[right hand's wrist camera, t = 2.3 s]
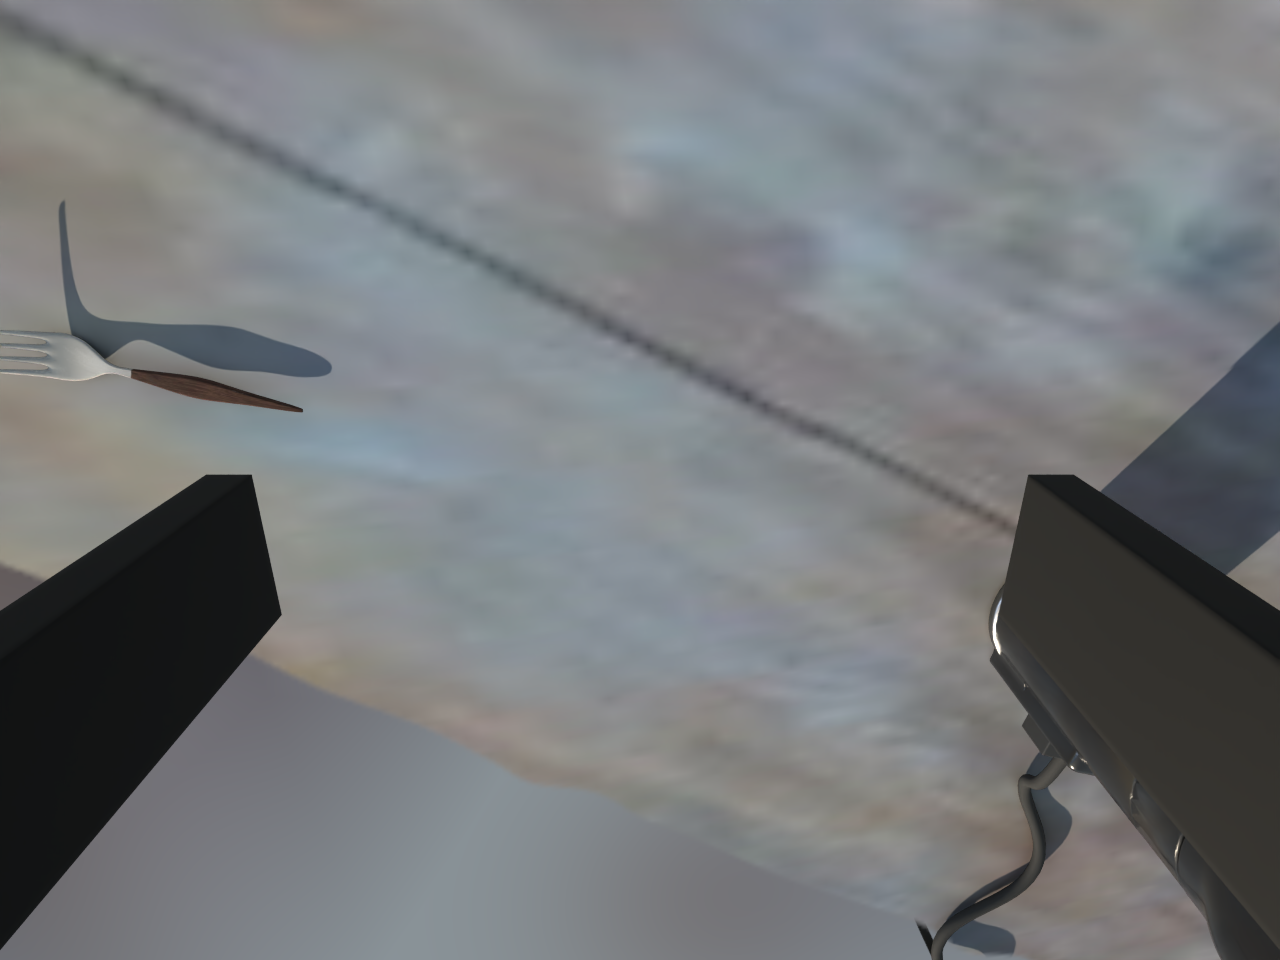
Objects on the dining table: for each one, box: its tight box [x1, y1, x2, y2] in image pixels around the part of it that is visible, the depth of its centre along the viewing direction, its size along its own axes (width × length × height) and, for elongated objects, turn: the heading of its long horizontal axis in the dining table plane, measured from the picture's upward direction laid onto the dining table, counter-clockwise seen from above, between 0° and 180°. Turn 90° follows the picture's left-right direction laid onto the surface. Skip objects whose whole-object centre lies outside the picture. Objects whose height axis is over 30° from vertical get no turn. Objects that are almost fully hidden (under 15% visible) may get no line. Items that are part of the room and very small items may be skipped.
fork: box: [0, 330, 303, 412], centre depth 39 cm, size 3×16×2 cm, turn 77°
